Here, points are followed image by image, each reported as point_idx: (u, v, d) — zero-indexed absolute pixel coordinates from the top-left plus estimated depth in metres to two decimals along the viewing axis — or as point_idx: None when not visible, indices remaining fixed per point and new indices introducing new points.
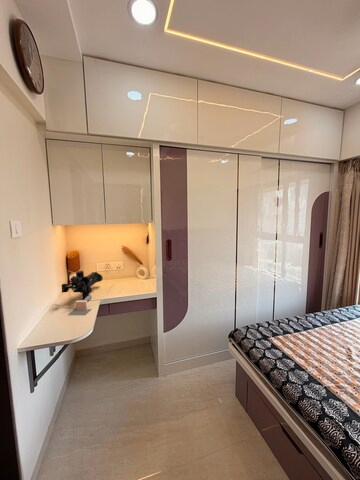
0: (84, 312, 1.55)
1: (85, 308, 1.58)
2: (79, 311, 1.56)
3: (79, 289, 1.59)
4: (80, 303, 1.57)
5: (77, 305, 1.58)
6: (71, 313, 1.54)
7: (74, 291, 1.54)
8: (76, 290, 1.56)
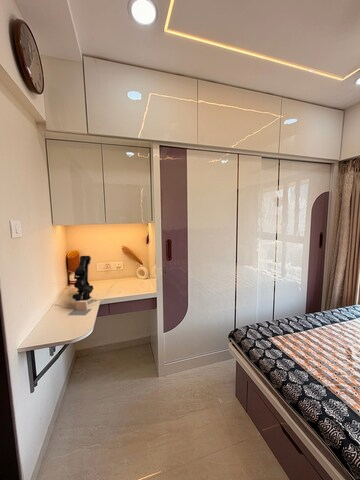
0: (84, 312, 1.55)
1: (85, 308, 1.58)
2: (79, 311, 1.56)
3: None
4: (80, 303, 1.57)
5: (77, 305, 1.58)
6: (71, 313, 1.54)
7: None
8: None
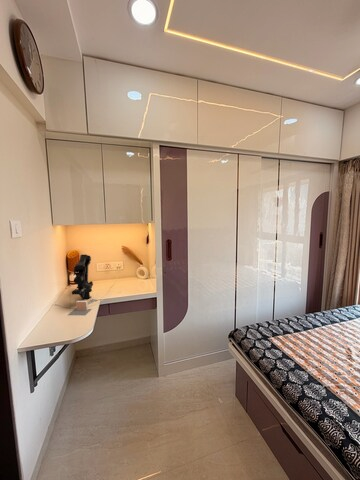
0: (84, 312, 1.55)
1: (85, 308, 1.58)
2: (79, 311, 1.56)
3: None
4: (80, 303, 1.57)
5: (77, 305, 1.58)
6: (71, 313, 1.54)
7: None
8: None
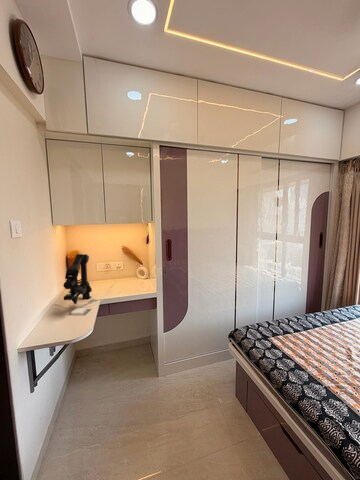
0: None
1: None
2: None
3: None
4: None
5: None
6: None
7: None
8: None
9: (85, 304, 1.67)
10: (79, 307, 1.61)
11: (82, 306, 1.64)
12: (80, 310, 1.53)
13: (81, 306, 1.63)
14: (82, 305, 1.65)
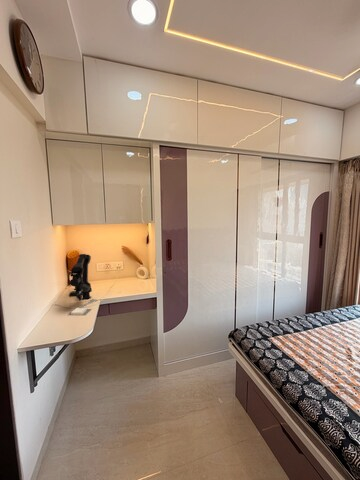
0: None
1: None
2: None
3: None
4: None
5: None
6: None
7: (80, 299, 1.64)
8: None
9: (85, 304, 1.67)
10: (79, 307, 1.61)
11: (82, 306, 1.64)
12: (80, 310, 1.53)
13: (81, 306, 1.63)
14: (82, 305, 1.65)
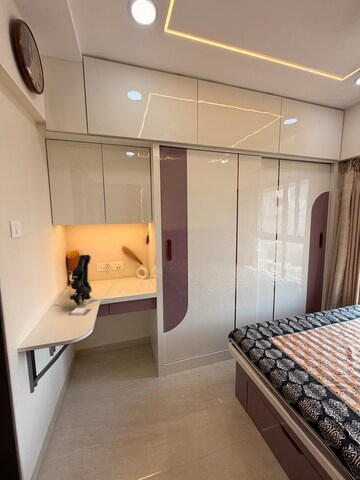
0: None
1: None
2: None
3: None
4: None
5: None
6: None
7: (83, 300, 1.69)
8: None
9: (85, 304, 1.67)
10: (79, 307, 1.61)
11: (82, 306, 1.64)
12: (80, 310, 1.53)
13: (81, 306, 1.63)
14: (82, 305, 1.65)
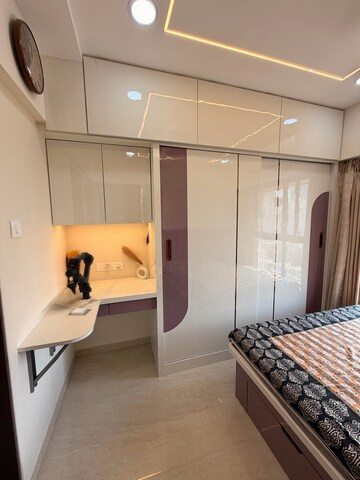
0: None
1: None
2: None
3: None
4: None
5: None
6: None
7: (80, 288, 1.71)
8: None
9: (85, 304, 1.67)
10: (79, 307, 1.61)
11: (82, 306, 1.64)
12: (80, 310, 1.53)
13: (81, 306, 1.63)
14: (82, 305, 1.65)
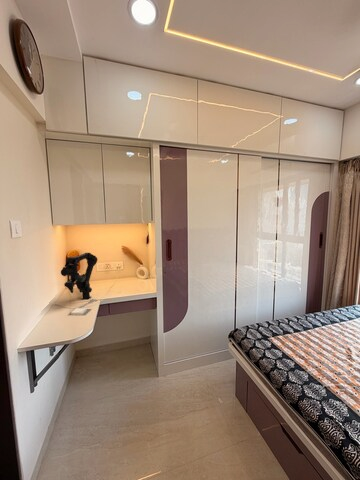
0: None
1: None
2: None
3: None
4: None
5: None
6: None
7: (78, 287, 1.73)
8: None
9: (85, 304, 1.67)
10: (79, 307, 1.61)
11: (82, 306, 1.64)
12: (80, 310, 1.53)
13: (81, 306, 1.63)
14: (82, 305, 1.65)
